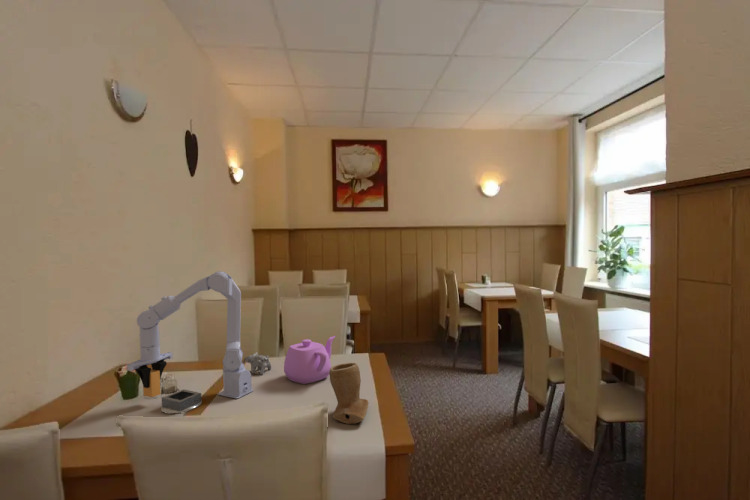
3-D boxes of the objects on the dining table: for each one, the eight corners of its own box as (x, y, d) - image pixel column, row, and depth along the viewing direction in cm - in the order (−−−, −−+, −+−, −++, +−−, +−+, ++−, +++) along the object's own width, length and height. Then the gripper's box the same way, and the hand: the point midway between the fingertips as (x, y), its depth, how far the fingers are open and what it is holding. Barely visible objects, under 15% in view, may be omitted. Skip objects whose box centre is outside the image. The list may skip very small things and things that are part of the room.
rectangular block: (152, 392, 128) (151, 369, 128) (160, 394, 126) (159, 370, 126) (143, 395, 125) (142, 371, 125) (152, 397, 123) (150, 373, 123)
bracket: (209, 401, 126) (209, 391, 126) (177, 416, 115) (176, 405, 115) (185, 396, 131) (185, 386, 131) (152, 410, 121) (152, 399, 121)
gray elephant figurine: (268, 376, 151) (268, 357, 151) (237, 376, 150) (238, 357, 150) (272, 368, 160) (272, 351, 160) (243, 368, 159) (244, 351, 159)
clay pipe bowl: (335, 403, 122) (334, 358, 122) (371, 404, 120) (369, 358, 120) (323, 425, 107) (321, 374, 107) (363, 426, 105) (362, 374, 105)
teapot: (307, 392, 132) (306, 350, 131) (277, 378, 147) (276, 340, 147) (355, 375, 147) (354, 337, 147) (324, 364, 163) (323, 330, 162)
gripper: (162, 339, 134) (164, 376, 134) (120, 350, 121) (122, 391, 121) (175, 340, 130) (177, 379, 131) (133, 352, 117) (135, 394, 118)
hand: (151, 385), depth 125 cm, fingers closed on rectangular block, 3 cm apart
